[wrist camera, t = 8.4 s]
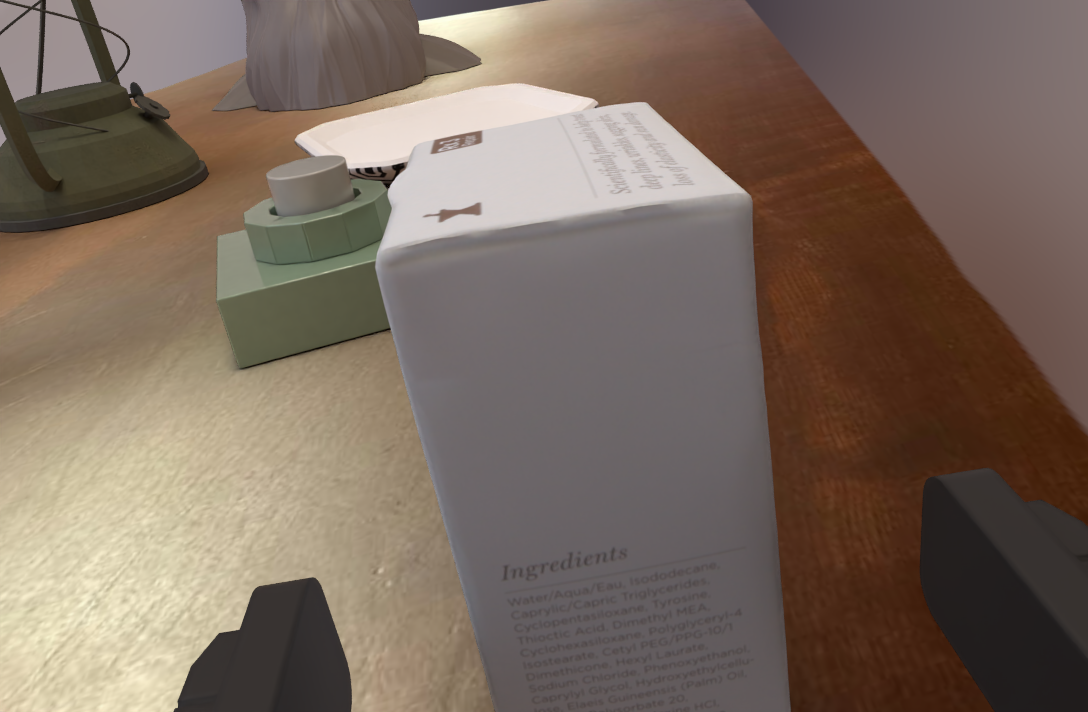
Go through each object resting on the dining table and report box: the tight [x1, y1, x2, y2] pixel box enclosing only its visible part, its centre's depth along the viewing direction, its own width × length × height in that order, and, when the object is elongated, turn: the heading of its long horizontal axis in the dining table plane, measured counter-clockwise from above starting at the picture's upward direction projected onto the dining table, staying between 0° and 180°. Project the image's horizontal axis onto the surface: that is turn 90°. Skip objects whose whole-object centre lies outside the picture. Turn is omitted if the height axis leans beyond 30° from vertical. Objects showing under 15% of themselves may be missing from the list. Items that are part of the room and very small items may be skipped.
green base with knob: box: [216, 179, 392, 368], centre depth 42 cm, size 14×10×5 cm
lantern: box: [0, 0, 209, 232], centre depth 67 cm, size 21×18×30 cm
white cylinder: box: [266, 155, 355, 217], centre depth 40 cm, size 4×4×2 cm
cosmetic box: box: [375, 102, 791, 712], centre depth 14 cm, size 6×4×12 cm
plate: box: [295, 83, 599, 185], centre depth 70 cm, size 21×21×2 cm
